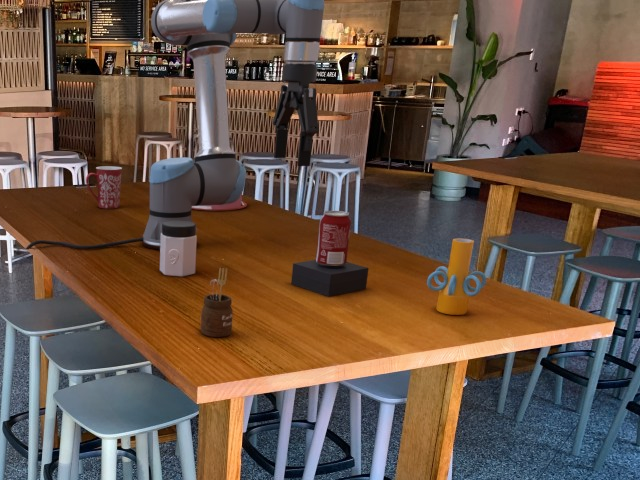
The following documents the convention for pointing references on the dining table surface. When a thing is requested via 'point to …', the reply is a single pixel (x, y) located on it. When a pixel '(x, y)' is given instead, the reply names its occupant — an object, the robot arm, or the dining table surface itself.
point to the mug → (107, 186)
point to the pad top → (330, 272)
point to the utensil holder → (217, 312)
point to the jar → (178, 248)
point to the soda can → (333, 239)
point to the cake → (223, 206)
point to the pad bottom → (328, 286)
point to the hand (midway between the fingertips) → (291, 161)
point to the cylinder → (456, 279)
